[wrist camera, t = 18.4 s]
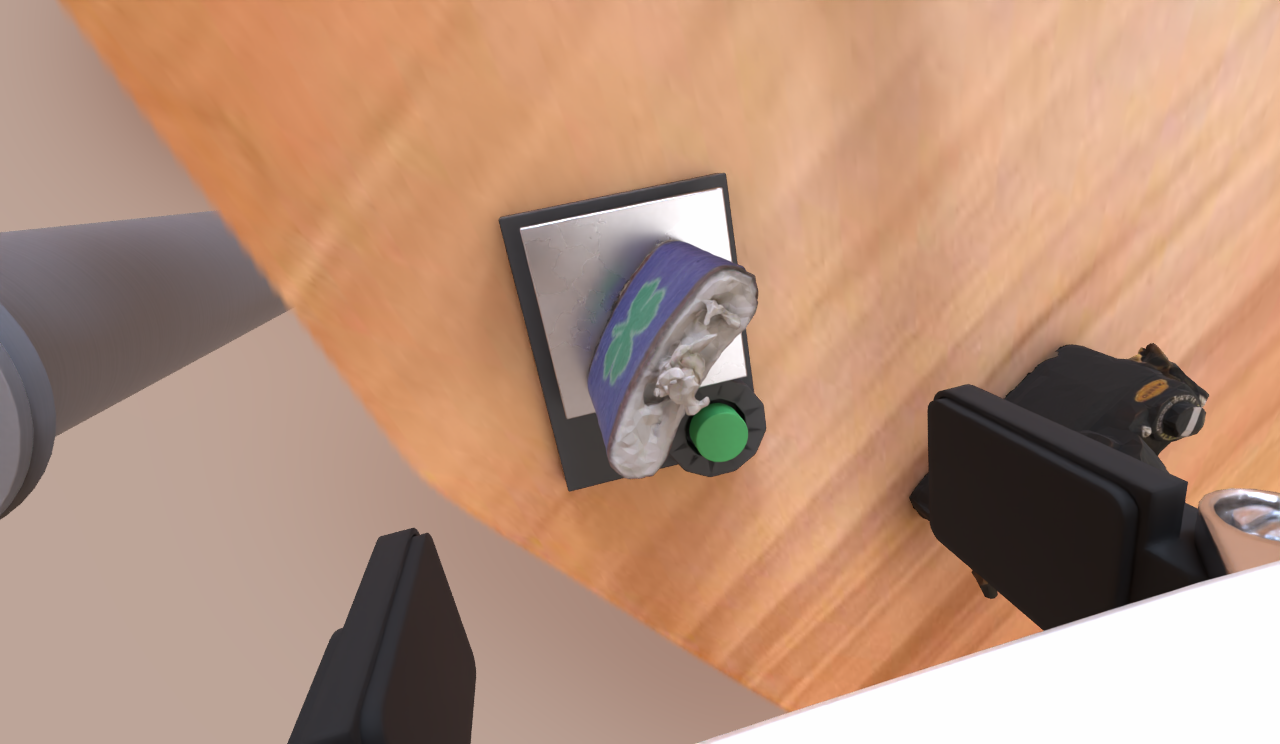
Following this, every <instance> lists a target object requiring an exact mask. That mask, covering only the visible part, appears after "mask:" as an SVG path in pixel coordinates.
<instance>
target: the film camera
mask: <svg viewBox="0 0 1280 744" xmlns="http://www.w3.org/2000/svg"><path fill="white" fill-rule="evenodd" d="M1057 351H1058V356H1057V357H1055V358H1051V359H1048V360H1045V361H1044V362H1042V363H1041V364H1039V365H1038V366H1037V367H1035V370H1034V371H1033V372H1032V373H1028V374H1027V376H1026V377H1025V378H1024V379H1023V380H1022V382H1021V383H1020V384H1019V385H1018V386H1017V387H1015V389H1014V390H1013V391H1010V393H1009V394H1008V395H1006V398H1005V400H1007V401H1009V402H1011V403H1013V404H1016V405H1018V406H1020V407H1022V408H1024V409H1027V410H1029V411H1031V412H1033V413H1036V414H1038V415H1040V416H1042V417H1044V418H1047V419H1049V420H1051V421H1053V422H1056V423H1058V424H1060V425H1062V426H1064V427H1067V428H1069V429H1071V430H1073V431H1076V432H1078V433H1080V434H1082V435H1084V436H1087V437H1089V438H1091V439H1093V440H1096V441H1098V442H1100V443H1102V444H1104V445H1107V446H1109V447H1111V448H1113V449H1116V450H1118V451H1120V452H1122V453H1124V454H1127V455H1129V456H1131V457H1133V458H1136V459H1138V460H1140V461H1142V462H1144V463H1147V464H1149V465H1151V466H1153V467H1156V468H1158V469H1160V470H1162V471H1164V472H1167V473H1169V472H1168V471H1167V470H1166V467H1165V466H1164V464H1163V463H1162V462H1161V460H1160V459H1159V457H1158V454H1159V453H1160V452H1161V451H1162V450H1163V449H1164V448H1165V447H1166V446H1167V445H1168V444H1170V443H1171V442H1173V441H1177V440H1179V439H1182V438H1184V437H1188V436H1192V435H1194V434H1197V433H1198V432H1199V431H1200V429H1201V428H1202V427H1203V425H1204V421H1205V415H1206V412H1205V410H1204V409H1203V408H1202V407H1203V406H1204V405H1205V403H1206V401H1207V399H1208V397H1209V394H1208V393H1207V392H1206V391H1205V390H1204V389H1202V388H1201V387H1199V386H1198V385H1197V384H1196V383H1195V382H1194V381H1192V380H1191V379H1190V378H1189V377H1188V376H1186V375H1185V374H1184V372H1183V371H1182V370H1181V369H1180V368H1179V367H1178V366H1177V365H1176V364H1175V363H1173V362H1170V361H1169V360H1168V358H1167V357H1166V356H1165V354H1164V353H1163V352H1162V351H1161V350H1160V348H1159V347H1158V346H1157V345H1155V344H1154V343H1153V344H1151V343H1150V344H1149V345H1147V347H1146V349H1144V348H1140V350H1139V352H1138V354H1137V355H1135V356H1133V357H1132V358H1130V359H1117V358H1114V357H1111V356H1108V355H1105V354H1103V353H1100V352H1097V351H1094V350H1091V349H1089V348H1086V347H1084V346H1079V345H1065V346H1063V347H1060V348H1059V349H1058V350H1057ZM1057 351H1056V352H1057ZM909 498H910V501H911V503H912V505H913V508H914V509H916V510H917V512H918V513H919V515H920V516H921V517H922V518H924V519H927V520H928V521H930V517H929V473H928V474H927V475H925V476H924V478H923V479H922V480H921V481H920V483H919V484H918V485H917V487H916V488H915V489H914V491H913V492H912V494H911V495H910V497H909ZM972 574H973V575H974V577H975V578H976V580H977V582H978V584H979V586H980V588H981V590H982V592H983V594H984V596H985V597H987V598H990V599H992V598H995V597H996V596H997V595H998V594H997V590H996V589H995V588H993V587H992V586H991V585H990V584H989V583H988V582H986V581H985V580H984V579H983V578H982V577H981V576H979V575H978V574H977V573H976V572H975V571H974V570H973V571H972Z"/></svg>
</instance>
